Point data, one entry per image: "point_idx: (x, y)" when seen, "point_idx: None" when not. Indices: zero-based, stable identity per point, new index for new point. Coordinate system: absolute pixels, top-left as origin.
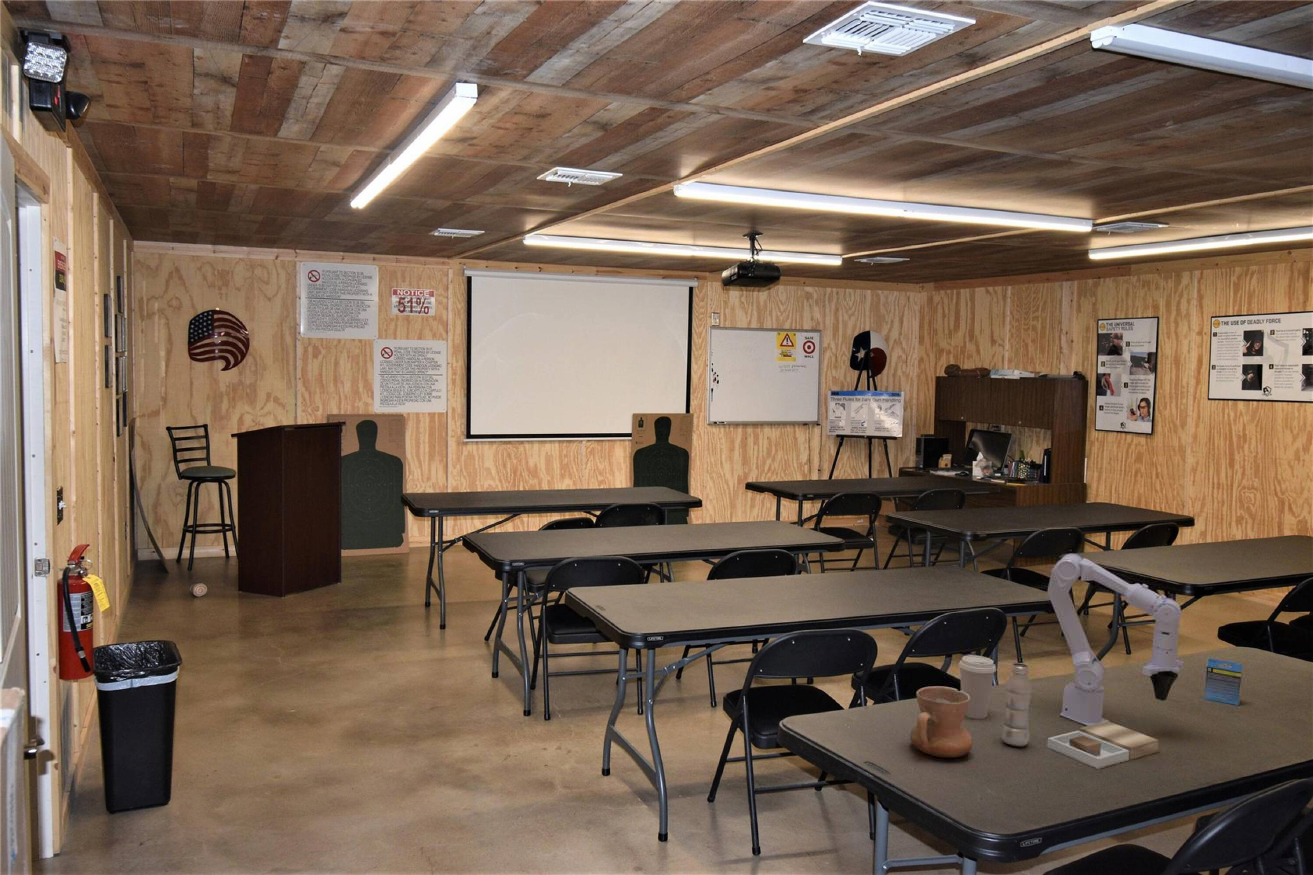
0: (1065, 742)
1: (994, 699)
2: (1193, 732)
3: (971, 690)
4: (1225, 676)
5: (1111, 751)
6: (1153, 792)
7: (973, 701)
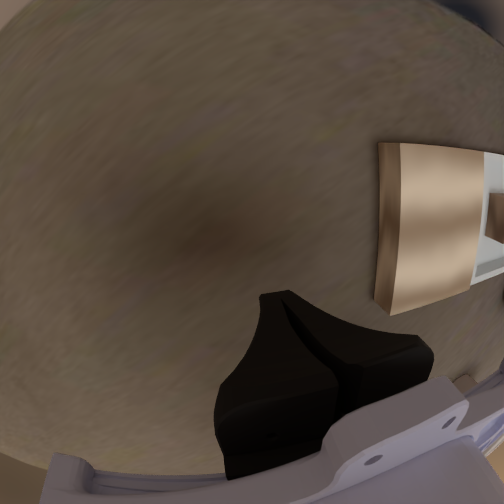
0: (486, 263)
1: None
2: (103, 224)
3: None
4: None
5: None
6: (500, 56)
7: None
